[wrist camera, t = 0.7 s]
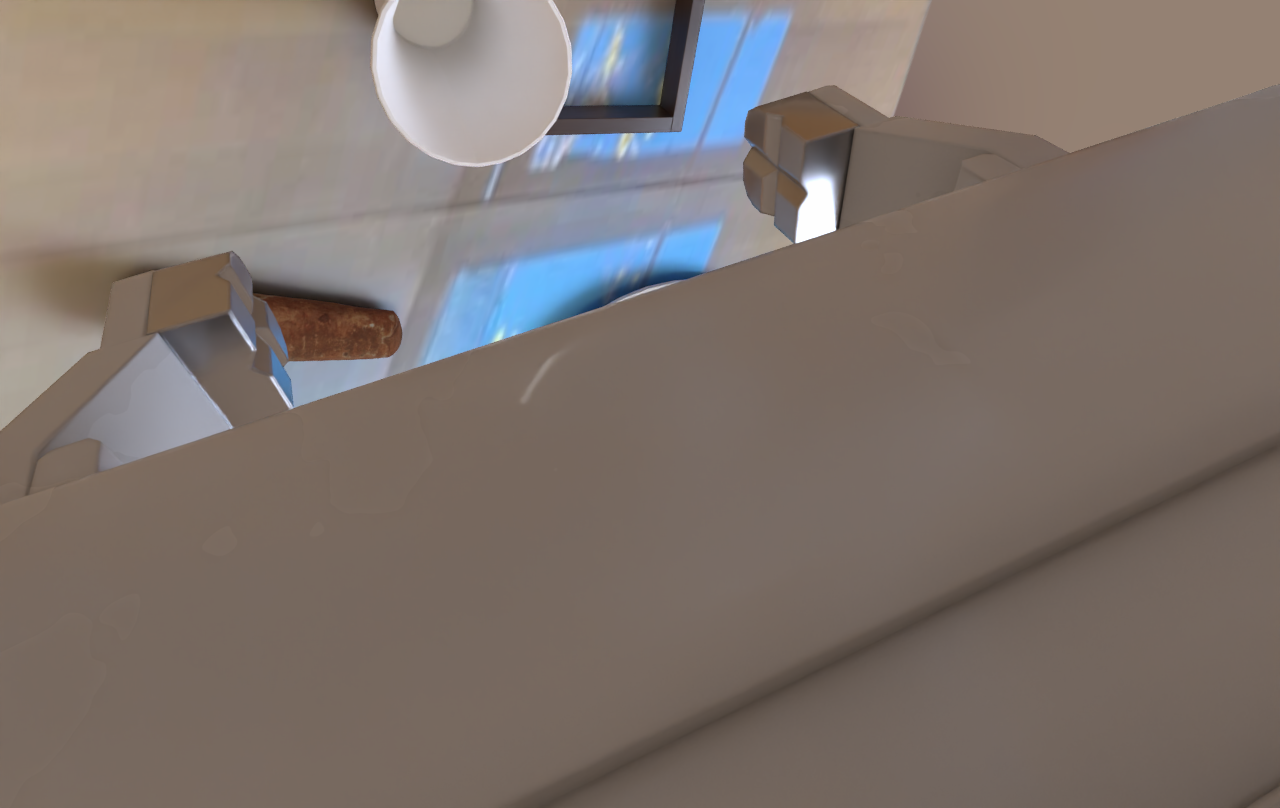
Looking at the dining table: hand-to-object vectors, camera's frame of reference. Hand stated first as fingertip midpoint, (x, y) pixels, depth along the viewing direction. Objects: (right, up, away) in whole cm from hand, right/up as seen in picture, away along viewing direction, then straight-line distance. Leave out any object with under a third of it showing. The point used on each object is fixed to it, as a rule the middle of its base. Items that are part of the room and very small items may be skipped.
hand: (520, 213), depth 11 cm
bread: (-27, +5, +44) cm, 51 cm away
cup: (-12, +23, +34) cm, 43 cm away
